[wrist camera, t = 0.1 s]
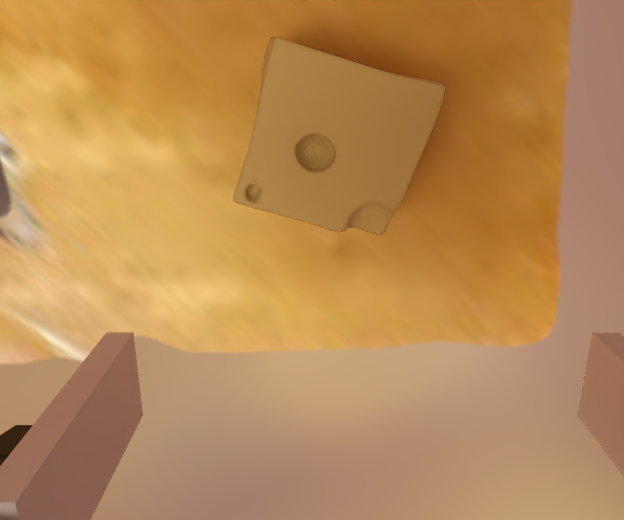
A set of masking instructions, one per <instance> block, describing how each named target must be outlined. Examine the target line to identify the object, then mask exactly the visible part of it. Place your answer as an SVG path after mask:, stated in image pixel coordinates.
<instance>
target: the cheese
mask: <svg viewBox="0 0 624 520" xmlns="http://www.w3.org/2000/svg"><path fill="white" fill-rule="evenodd" d="M445 91H446V87H445V85H444V84H443V83H441V82H438V81H434V80H428V79H422V78H415V77H409V76H403V75H398V74H394V73H390V72H386V71H382V70H379V69H376V68H372V67H369V66H366V65H363V64H360V63H357V62H353V61H350V60H347V59H344V58H341V57H338V56H335V55H332V54H328V53H325V52H322V51H319V50H316V49H313V48H310V47H307V46H304V45H301V44H298V43H295V42H292V41H289V40H286V39H283V38H280V37H274V36H273V37H271V38H270V39H269V42H268V45H267V49H266V53H265V57H264V63H263V71H262V82H261V94H260V101H259V106H258V111H257V115H256V120H255V124H254V129H253V133H252V137H251V141H250V145H249V148H248V152H247V155H246V158H245V162H244V165H243V168H242V171H241V174H240V177H239V181H238V184H237V187H236V190H235V194H234V197H233V200H234V202H235V203H238V204H242V205H245V206H248V207H252V208H255V209H259V210H263V211H267V212H270V213H274V214H277V215H281V216H284V217H288V218H292V219H296V220H299V221H303V222H307V223H310V224H313V225H316V226H319V227H322V228H326V229H329V230H333V231H338V232H342V231H345V230H347V229H349V228H358V229H362V230H365V231H368V232H371V233H374V234H377V235H382V234H383V233H384V232H385V231H386V228H387V226H388V223H389V221H390V219H391V217H392V216H393V214H394V213H395V212H396V210H397V209H398V207H399V205H400V204H401V202H402V200H403V197H404V195H405V193H406V191H407V188H408V186H409V183H410V181H411V179H412V176H413V174H414V171H415V169H416V166H417V164H418V161H419V159H420V157H421V154H422V152H423V150H424V148H425V146H426V143H427V141H428V139H429V137H430V134H431V132H432V130H433V127H434V125H435V122H436V119H437V117H438V114H439V111H440V108H441V105H442V102H443V98H444V95H445Z"/></svg>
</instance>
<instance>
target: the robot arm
mask: <svg viewBox="0 0 624 520" xmlns="http://www.w3.org/2000/svg"><path fill="white" fill-rule="evenodd" d="M142 416H143V412H142V403H141V394H140V386H139V377H138V369H137V360H136V352H135V343H134V334H133V333H106V334H105V335H104V336H103V338H102V339H101V340H100V342H99V343H98V344H97V345H96V347H95V348H94V349H93V350H92V352H91V353H90V354H89V355H88V357H87V358H86V359H85V360H84V362H83V363H82V364H81V365H80V367H79V368H78V369H77V371H76V372H75V373H74V374H73V376H72V377H71V378H70V379H69V380H68V382H67V383H66V385H65V386H64V387H63V388H62V389H61V391H60V392H59V393H58V394H57V396H56V397H55V398H54V399H53V401H52V402H51V403H50V404H49V406H48V407H47V408H46V410H45V411H44V412H43V413H42V415H41V416H40V417H39V418H38V420H37V421H36V422H35V423H34V425H15V426H14V427H12V428H11V429H9V430H8V431H6V432H5V433H3V434H2V435H0V520H91V518H92V516H93V514H94V512H95V510H96V508H97V506H98V504H99V502H100V499H101V498H102V496H103V494H104V492H105V490H106V488H107V485H108V484H109V482H110V480H111V478H112V476H113V474H114V472H115V470H116V468H117V466H118V464H119V461H120V460H121V458H122V455H123V454H124V452H125V450H126V448H127V445H128V444H129V442H130V439H131V438H132V436H133V434H134V432H135V429H136V428H137V425H138V424H139V422H140V420H141V418H142ZM578 417H579V418H580V419H581V420H582V422H583V423H584V425H585V426H586V427H587V429H588V430H589V431H590V433H591V434H592V435H593V436H594V438H595V439H596V440H597V442H598V443H599V444H600V446H601V447H602V448H603V450H604V451H605V452H606V454H607V455H608V456H609V458H610V459H611V460H612V462H613V463H614V464H615V466H616V467H617V468H618V470H619V471H620V472H621V473H622V475H623V476H624V337H623V336H622V335H621V334H620V333H592V338H591V343H590V349H589V355H588V360H587V366H586V371H585V377H584V383H583V388H582V394H581V400H580V406H579V411H578Z"/></svg>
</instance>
